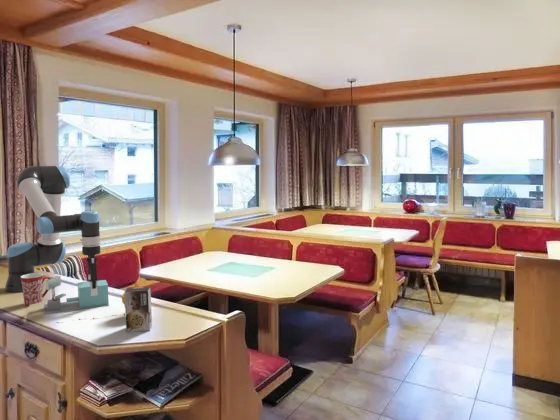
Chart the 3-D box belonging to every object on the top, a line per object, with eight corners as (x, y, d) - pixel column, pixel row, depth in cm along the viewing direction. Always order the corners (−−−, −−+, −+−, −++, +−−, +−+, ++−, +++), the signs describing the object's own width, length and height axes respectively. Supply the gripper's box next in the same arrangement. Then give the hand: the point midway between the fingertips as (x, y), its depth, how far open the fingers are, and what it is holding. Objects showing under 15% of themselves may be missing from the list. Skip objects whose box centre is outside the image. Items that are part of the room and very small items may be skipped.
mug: (25, 308, 202) (23, 279, 201) (19, 304, 209) (18, 275, 208) (55, 302, 211) (54, 274, 210) (49, 298, 217) (47, 270, 216)
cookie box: (152, 325, 182) (151, 285, 180) (149, 331, 175) (148, 290, 174) (128, 326, 180) (127, 286, 179) (125, 332, 174) (124, 291, 173)
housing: (44, 306, 204) (43, 293, 204) (105, 299, 216) (105, 286, 215) (43, 317, 191) (43, 302, 190) (109, 308, 202) (108, 295, 202)
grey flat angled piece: (45, 302, 195) (44, 280, 194) (62, 295, 206) (61, 274, 205) (49, 302, 195) (48, 280, 194) (66, 295, 206) (65, 274, 205)
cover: (66, 303, 206) (65, 283, 205) (106, 298, 214) (105, 279, 213) (67, 309, 197) (66, 289, 196) (108, 304, 205) (107, 284, 204)
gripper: (80, 242, 213) (82, 286, 215) (83, 250, 191) (85, 299, 193) (97, 240, 217) (99, 284, 219) (102, 249, 194) (104, 297, 196)
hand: (93, 291), depth 206 cm, fingers open, 13 cm apart
